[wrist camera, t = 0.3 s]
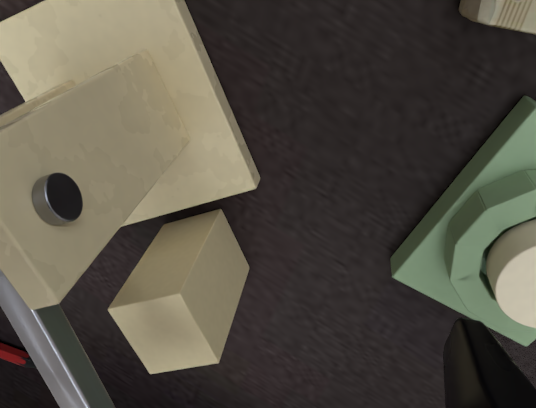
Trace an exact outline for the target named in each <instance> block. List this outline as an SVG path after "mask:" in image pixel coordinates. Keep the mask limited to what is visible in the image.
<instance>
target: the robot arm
mask: <svg viewBox="0 0 536 408" xmlns="http://www.w3.org/2000/svg"><path fill="white" fill-rule="evenodd" d="M443 362H444V383H445V405H446V408H536V389H535V388H534V386H533V385H532V384H531V382H530V381H529V380H528V379H527V377H526V376H525V375H524V374H523V372H522V371H521V370H520V368H519V367H518V366H517V365H516V363H515V362H514V361H513V360H512V358H511V357H510V356H509V354H508V353H507V352H506V351H505V349H504V348H503V347H502V346H501V344H500V343H499V342H498V341H497V339H496V338H495V337H494V335H493V334H492V333H491V332H490V330H489V329H488V328H487V327H486V325H485V324H484V323H483V322H481V321H479V320H474V319H467V318H458V319H457V320H456V321H455V323H454V325H453V327H452V330H451V332H450V334H449V336H448V339H447V341H446V343H445V346H444V352H443Z"/></svg>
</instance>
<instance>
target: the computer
mask: <svg viewBox="0 0 536 408" xmlns="http://www.w3.org/2000/svg"><path fill="white" fill-rule="evenodd" d="M459 12H460V13H461V15H462V17H466V18H468V19H469V20H471V21H473V22H478V23H482V24H485V25H488V26H493V27H498V28H503V29H509V30H514V31H519V32H525V33H531V34H535V35H536V0H461V1H460V5H459Z"/></svg>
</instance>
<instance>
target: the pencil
mask: <svg viewBox="0 0 536 408" xmlns="http://www.w3.org/2000/svg"><path fill="white" fill-rule="evenodd" d="M0 358H1V359H4V360H7V361H10V362H12V363H15V364H18V365H21V366H23V367H31V368H37V367H36V365H35V364H34V362H33V360H32V358H31V357H30V355H29V353H27V352H24V351H21V350H19V349H16V348H13V347H11V346H8V345H5V344H2V343H0Z"/></svg>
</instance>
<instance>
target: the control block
mask: <svg viewBox="0 0 536 408" xmlns="http://www.w3.org/2000/svg"><path fill="white" fill-rule="evenodd" d="M535 219H536V101H535V100H533V99H531V98H530V97H528V96H523V97H522V98H521V100H520V101H519V102H518V103H517V104H516V106H515V107H514V108H513V109H512V110H511V112H510V113H509V114H508V115H507V117H506V118H505V119H504V120H503V121H502V123H501V124H500V125H499V126H498V128H497V129H496V130H495V131H494V132H493V134H492V135H491V136H490V137H489V138H488V140H487V141H486V142H485V143H484V145H483V146H482V147H481V148H480V149H479V151H478V152H477V153H476V154H475V156H474V157H473V158H472V159H471V160H470V162H469V163H468V164H467V165H466V167H465V168H464V169H463V170H462V171H461V173H460V174H459V175H458V176H457V177H456V179H455V180H454V181H453V182H452V184H451V185H450V186H449V187H448V188H447V190H446V191H445V192H444V193H443V195H442V196H441V197H440V198H439V199H438V201H437V202H436V203H435V204H434V205H433V207H432V208H431V209H430V210H429V212H428V213H427V214H426V215H425V216H424V218H423V219H422V220H421V221H420V223H419V224H418V225H417V226H416V227H415V229H414V230H413V231H412V232H411V233H410V235H409V236H408V237H407V238H406V240H405V241H404V242H403V243H402V244H401V246H400V247H399V248H398V249H397V251H396V252H395V253H394V254H393V255H392V257H391V258H390V261H391V271H392V277H393V278H394V279H396V280H398V281H400V282H402V283H404V284H406V285H408V286H410V287H411V288H413V289H415V290H417V291H419V292H421V293H423V294H425V295H427V296H429V297H431V298H433V299H435V300H437V301H439V302H440V303H442V304H444V305H446V306H448V307H450V308H452V309H454V310H456V311H458V312H460V313H462V314H464V315H466V316H468V317H470V318H471V319H474V320H479V321H481V322H483V323H484V324H485V325H486V326H487V327H489V328H491V329H493V330H495V331H497V332H499V333H500V334H502V335H504V336H506V337H508V338H510V339H512V340H514V341H516V342H518V343H520V344H522V345H524V346H528V345H529V344H530V343H532V342H533V341H534V340H535V339H536V328H533V327H528V326H525V325H522V324H520V323H518V322H516V321H514V320H513V319H511V318H510V317H508V316H507V315H506V314H505V313H504V312H503V311H502V310H501V308H500V307H499V305H498V303H497V301H496V298H495V295H494V293H493V290H492V287H491V284H490V282H489V279H488V276H487V272H486V260H487V257H488V254H489V251H490V249H491V248H492V246H493V244H494V243H495V242H496V241H497V240H498V238H500V237H501V236H502V235H503V234H504V233H505V232H507V231H508V230H510V229H511V228H513V227H515V226H517V225H519V224H521V223H524V222H527V221H530V220H535Z"/></svg>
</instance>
